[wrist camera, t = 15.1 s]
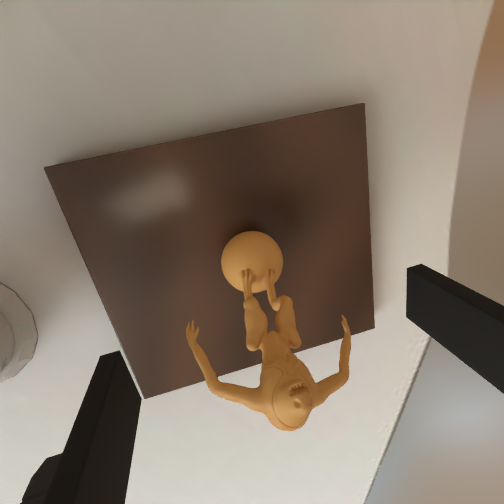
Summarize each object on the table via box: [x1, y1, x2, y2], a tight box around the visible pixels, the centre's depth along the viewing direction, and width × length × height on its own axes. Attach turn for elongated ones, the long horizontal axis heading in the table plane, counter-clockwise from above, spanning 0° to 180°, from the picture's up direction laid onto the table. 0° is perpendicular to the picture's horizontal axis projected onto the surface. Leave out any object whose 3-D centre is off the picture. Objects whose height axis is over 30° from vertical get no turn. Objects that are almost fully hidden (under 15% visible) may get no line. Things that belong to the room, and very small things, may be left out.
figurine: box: [186, 231, 351, 431], centre depth 16 cm, size 8×6×12 cm
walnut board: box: [44, 103, 375, 399], centre depth 22 cm, size 20×18×2 cm
